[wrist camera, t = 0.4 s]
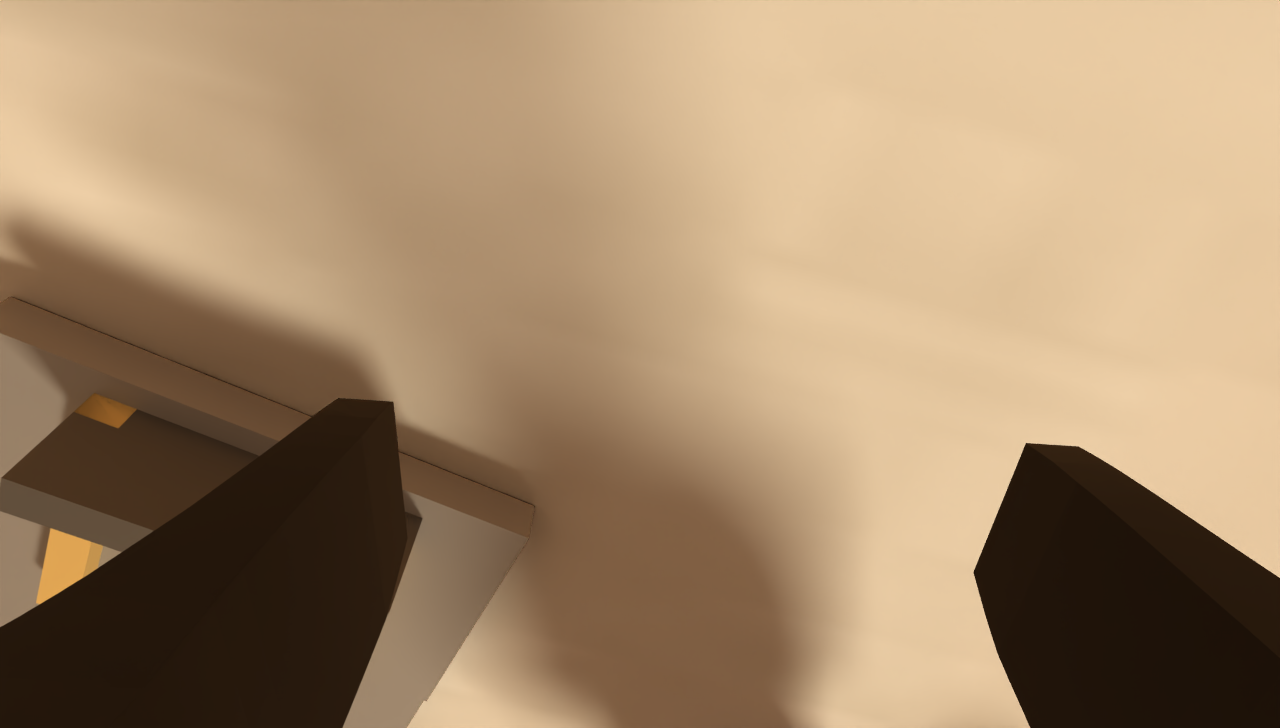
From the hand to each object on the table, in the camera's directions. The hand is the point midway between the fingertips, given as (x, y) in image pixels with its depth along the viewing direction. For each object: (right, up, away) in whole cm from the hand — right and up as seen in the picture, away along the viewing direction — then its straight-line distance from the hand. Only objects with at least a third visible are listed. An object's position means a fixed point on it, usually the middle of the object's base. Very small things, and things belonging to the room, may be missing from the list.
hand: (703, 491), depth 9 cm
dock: (-13, -5, +15) cm, 21 cm away
